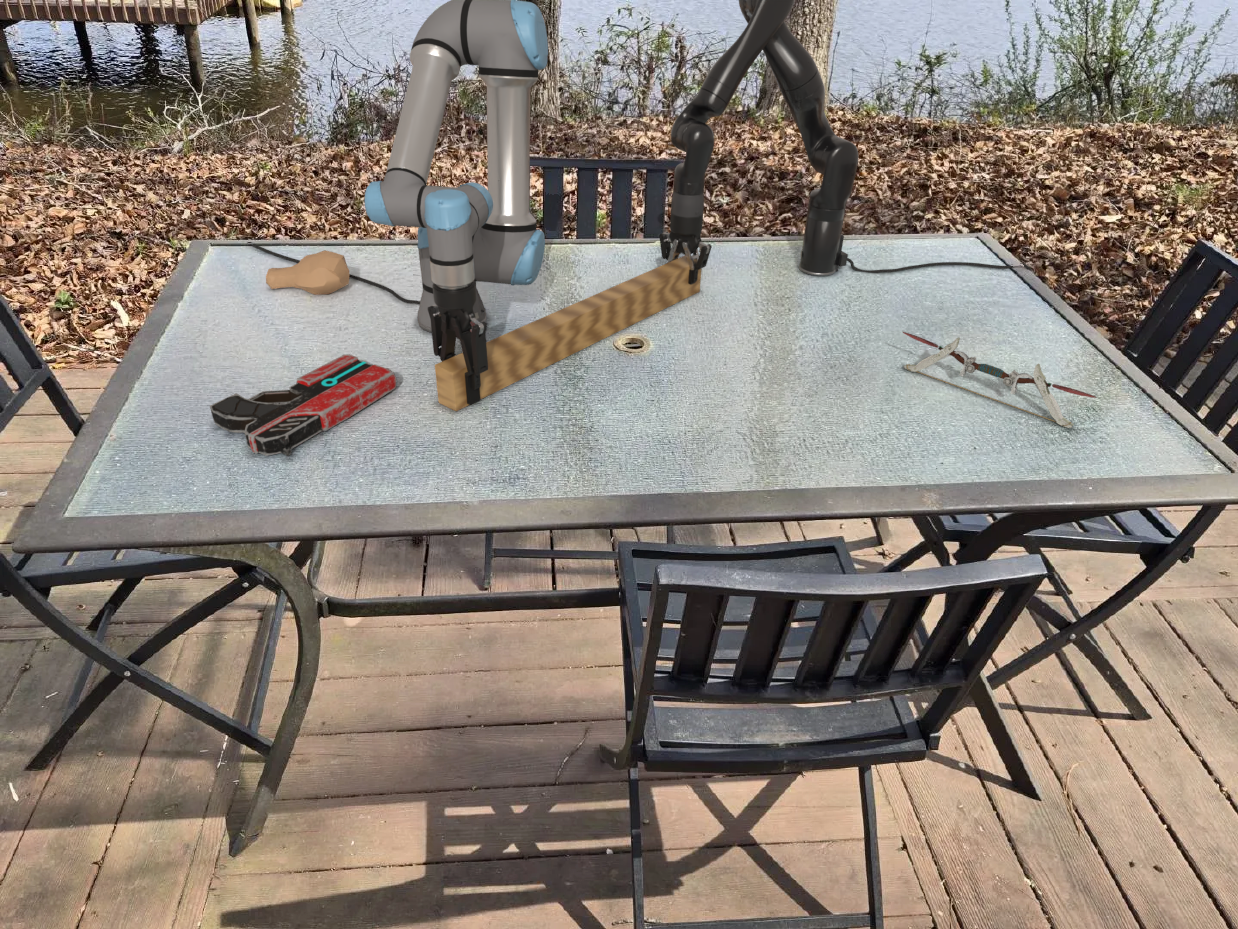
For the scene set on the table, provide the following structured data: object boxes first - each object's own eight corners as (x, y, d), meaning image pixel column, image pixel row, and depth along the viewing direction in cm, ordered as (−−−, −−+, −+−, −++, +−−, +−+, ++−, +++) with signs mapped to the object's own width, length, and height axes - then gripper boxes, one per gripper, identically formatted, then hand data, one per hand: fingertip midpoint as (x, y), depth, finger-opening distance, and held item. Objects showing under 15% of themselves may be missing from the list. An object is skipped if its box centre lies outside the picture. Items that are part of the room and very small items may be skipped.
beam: (456, 411, 164) (452, 373, 160) (438, 402, 167) (434, 364, 162) (699, 291, 215) (702, 259, 211) (683, 286, 218) (685, 254, 213)
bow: (1085, 430, 164) (1103, 383, 158) (1082, 434, 163) (1099, 386, 157) (897, 362, 185) (907, 319, 179) (893, 365, 184) (902, 321, 178)
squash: (349, 299, 206) (336, 265, 200) (267, 306, 208) (252, 273, 202) (359, 274, 214) (347, 241, 208) (280, 281, 216) (266, 249, 209)
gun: (194, 409, 153) (271, 444, 146) (327, 342, 175) (400, 368, 168) (201, 431, 156) (277, 466, 148) (331, 362, 178) (403, 389, 170)
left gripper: (504, 289, 153) (510, 405, 166) (436, 263, 162) (447, 375, 175) (472, 301, 148) (481, 420, 161) (404, 274, 157) (417, 388, 170)
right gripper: (722, 213, 201) (715, 283, 210) (672, 200, 208) (668, 268, 218) (703, 221, 196) (697, 292, 206) (652, 207, 204) (649, 276, 213)
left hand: (463, 396), depth 168 cm, fingers closed on beam, 5 cm apart
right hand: (682, 280), depth 212 cm, fingers closed on beam, 5 cm apart
